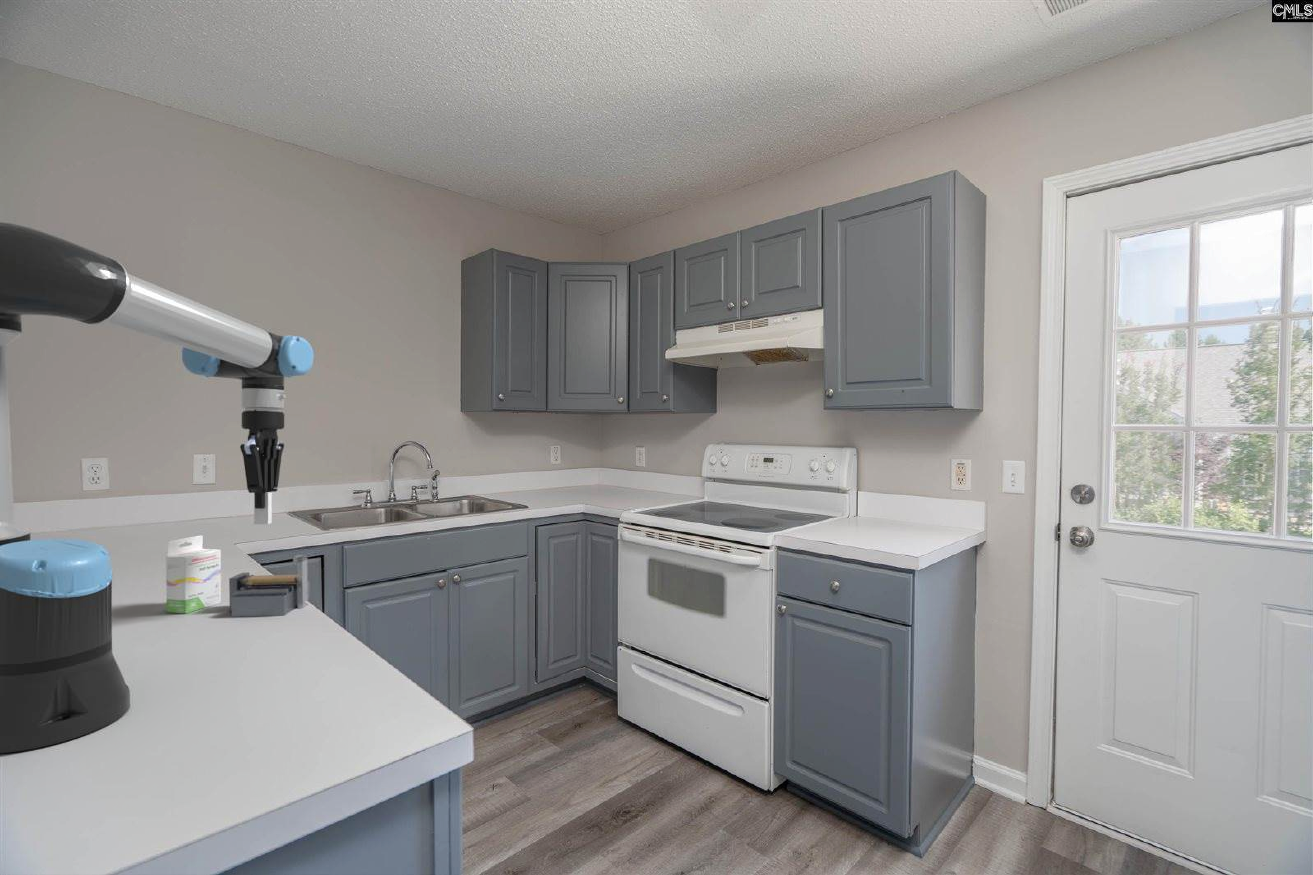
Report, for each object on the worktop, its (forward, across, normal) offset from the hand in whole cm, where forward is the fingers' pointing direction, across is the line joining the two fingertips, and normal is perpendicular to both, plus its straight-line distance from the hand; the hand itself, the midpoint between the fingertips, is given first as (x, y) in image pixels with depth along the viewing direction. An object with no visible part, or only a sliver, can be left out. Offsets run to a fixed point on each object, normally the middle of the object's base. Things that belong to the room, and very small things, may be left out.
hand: (263, 523), depth 129 cm
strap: (+13, +2, -1) cm, 13 cm away
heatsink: (+18, +2, -1) cm, 18 cm away
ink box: (+19, +4, +16) cm, 24 cm away
